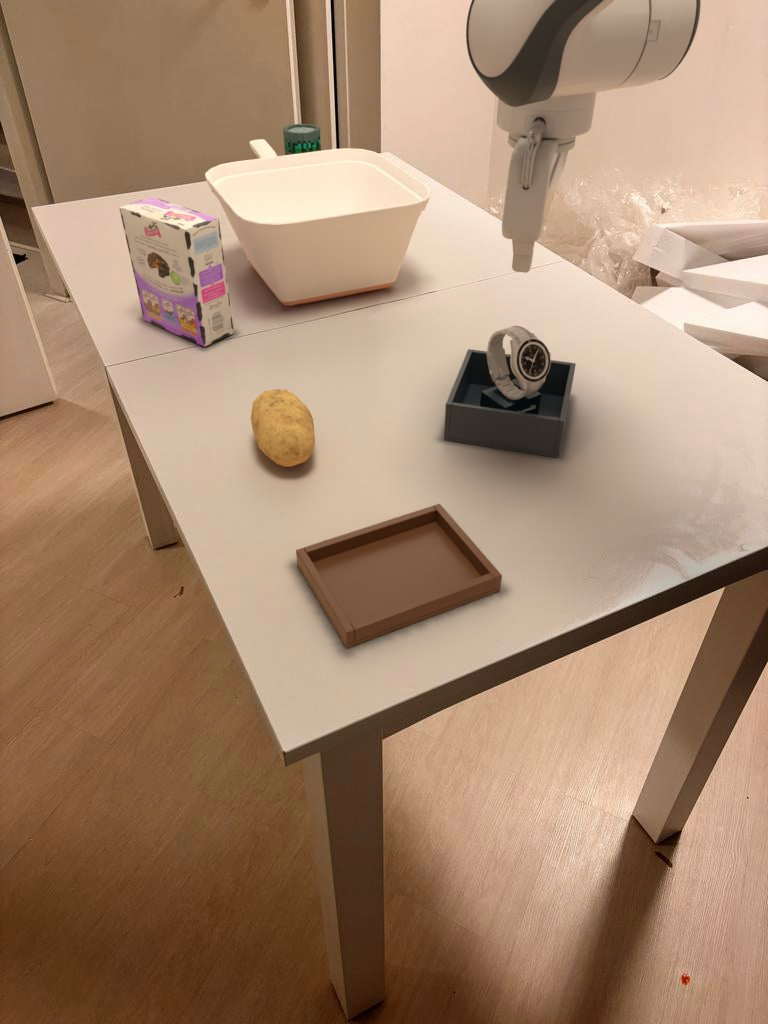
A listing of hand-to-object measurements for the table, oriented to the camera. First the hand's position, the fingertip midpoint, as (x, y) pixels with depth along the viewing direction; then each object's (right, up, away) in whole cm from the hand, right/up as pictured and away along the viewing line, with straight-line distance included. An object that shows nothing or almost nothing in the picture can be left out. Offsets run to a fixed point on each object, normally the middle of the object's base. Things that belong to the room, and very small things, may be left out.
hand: (527, 251), depth 83 cm
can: (-29, +28, +66) cm, 77 cm away
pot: (-28, +14, +50) cm, 59 cm away
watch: (0, -16, +13) cm, 20 cm away
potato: (-26, -20, +8) cm, 34 cm away
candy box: (-43, -1, +32) cm, 53 cm away
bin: (0, -16, +13) cm, 21 cm away
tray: (-14, -33, -8) cm, 37 cm away
